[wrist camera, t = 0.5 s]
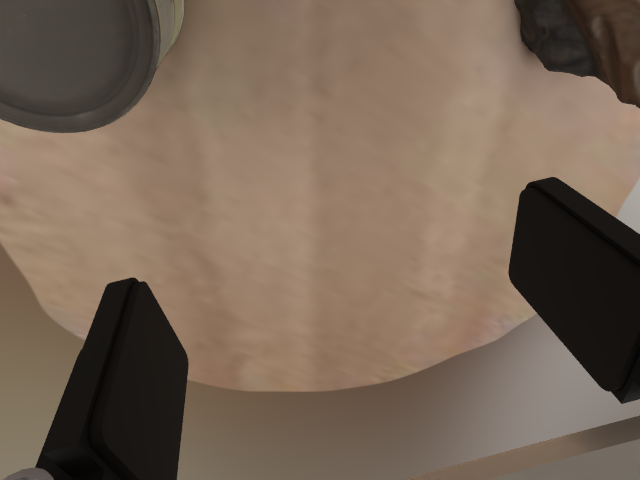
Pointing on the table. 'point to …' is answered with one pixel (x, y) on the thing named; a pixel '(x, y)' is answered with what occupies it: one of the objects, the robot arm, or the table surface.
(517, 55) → the table surface
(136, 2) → the coffee can
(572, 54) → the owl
